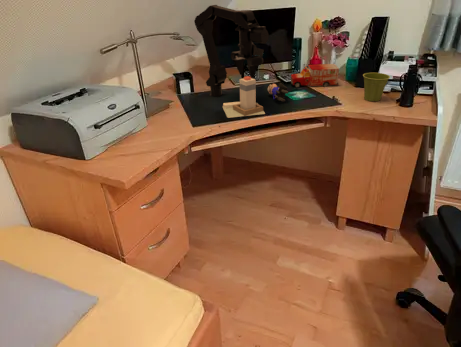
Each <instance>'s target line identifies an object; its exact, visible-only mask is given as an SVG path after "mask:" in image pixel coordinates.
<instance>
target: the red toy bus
mask: <svg viewBox="0 0 461 347" xmlns="http://www.w3.org/2000/svg"><path fill="white" fill-rule="evenodd" d="M307 66H308V67H307ZM307 66H305V67H304V68H302V70H301V71H300V73H293V74H291V75H290V80H291V81H290V84H291V85H292V86H294V87H295V88H300V87H301V86H311V87H312V86H313V87H314V86H316V87H317V86H318V87H319V86H322V87H324V88H328V87H329V86H339V83H338V81H339V71H340V69H339V67H338V65H336V64H335V63H321V64H320V63H319V64H308V65H307Z"/></svg>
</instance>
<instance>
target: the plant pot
mask: <svg viewBox="0 0 461 347" xmlns="http://www.w3.org/2000/svg"><path fill="white" fill-rule="evenodd" d="M362 76H363V77H362V78H363V82H364V86H363V88H364V89H363V90H364V91H363V92H364V96H363V97H364V99H365V101H369V102H378V101H380V100H381V99H382V96H383V93H384V91H385V87H386V85H387V83H388V82H389V79H390V78H391V76H390V75H389V74H385V73H383V72H365V73H363V74H362Z"/></svg>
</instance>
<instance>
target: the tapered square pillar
mask: <svg viewBox="0 0 461 347" xmlns="http://www.w3.org/2000/svg"><path fill="white" fill-rule="evenodd" d="M256 81H257V80H256V79H255V78H253V79H252V78H251V77H250V75H247V76H244V77H243V78H239V102H240V108H242V109H244V110H248V109H252V108H255V107H256V103H257V102H256V98H257V96H256V94H257V93H256V91H257V90H256V88H257V86H256Z"/></svg>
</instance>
